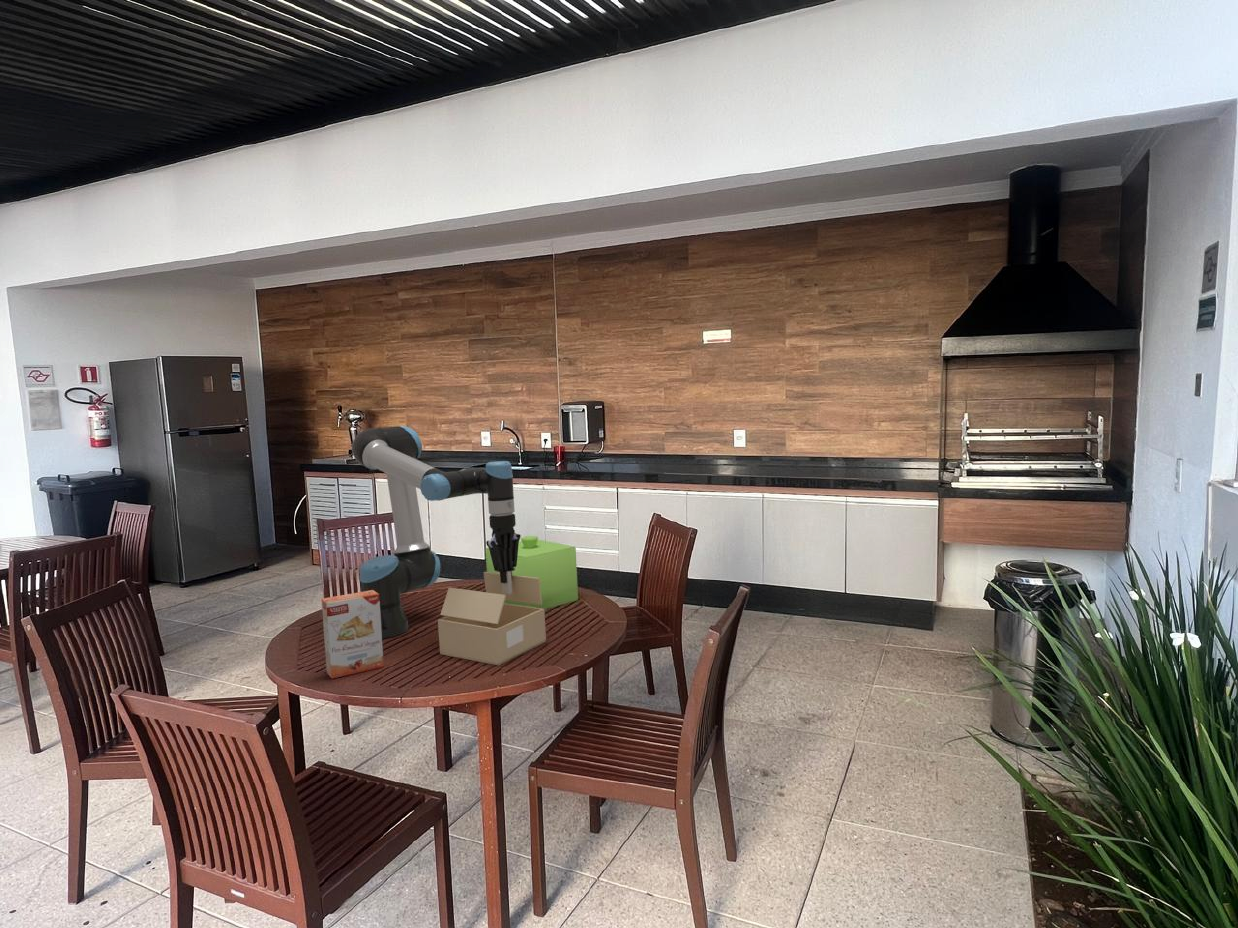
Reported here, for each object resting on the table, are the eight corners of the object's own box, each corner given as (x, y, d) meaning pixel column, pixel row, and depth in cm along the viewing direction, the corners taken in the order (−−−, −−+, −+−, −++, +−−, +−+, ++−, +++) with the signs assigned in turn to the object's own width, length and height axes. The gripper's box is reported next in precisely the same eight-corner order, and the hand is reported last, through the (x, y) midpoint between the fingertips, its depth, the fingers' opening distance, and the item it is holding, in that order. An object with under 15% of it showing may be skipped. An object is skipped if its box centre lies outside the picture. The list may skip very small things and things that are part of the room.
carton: (440, 653, 211) (437, 619, 210) (489, 632, 228) (487, 600, 228) (499, 665, 199) (497, 629, 198) (546, 642, 217) (544, 608, 216)
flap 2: (486, 597, 227) (483, 572, 225) (487, 596, 227) (484, 571, 226) (541, 604, 216) (538, 578, 214) (542, 604, 216) (539, 578, 215)
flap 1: (440, 614, 210) (448, 587, 213) (441, 615, 210) (449, 587, 213) (496, 623, 199) (505, 594, 202) (498, 624, 199) (506, 595, 202)
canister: (488, 600, 265) (484, 537, 263) (536, 588, 279) (533, 528, 277) (528, 614, 247) (524, 546, 245) (578, 600, 261) (575, 535, 259)
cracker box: (331, 680, 194) (325, 602, 192) (326, 673, 199) (320, 597, 197) (385, 667, 202) (379, 592, 200) (378, 661, 207) (373, 588, 205)
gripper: (496, 517, 209) (502, 599, 211) (526, 511, 220) (531, 588, 221) (477, 517, 213) (482, 597, 215) (506, 510, 224) (511, 586, 225)
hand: (507, 592), depth 218 cm, fingers closed
